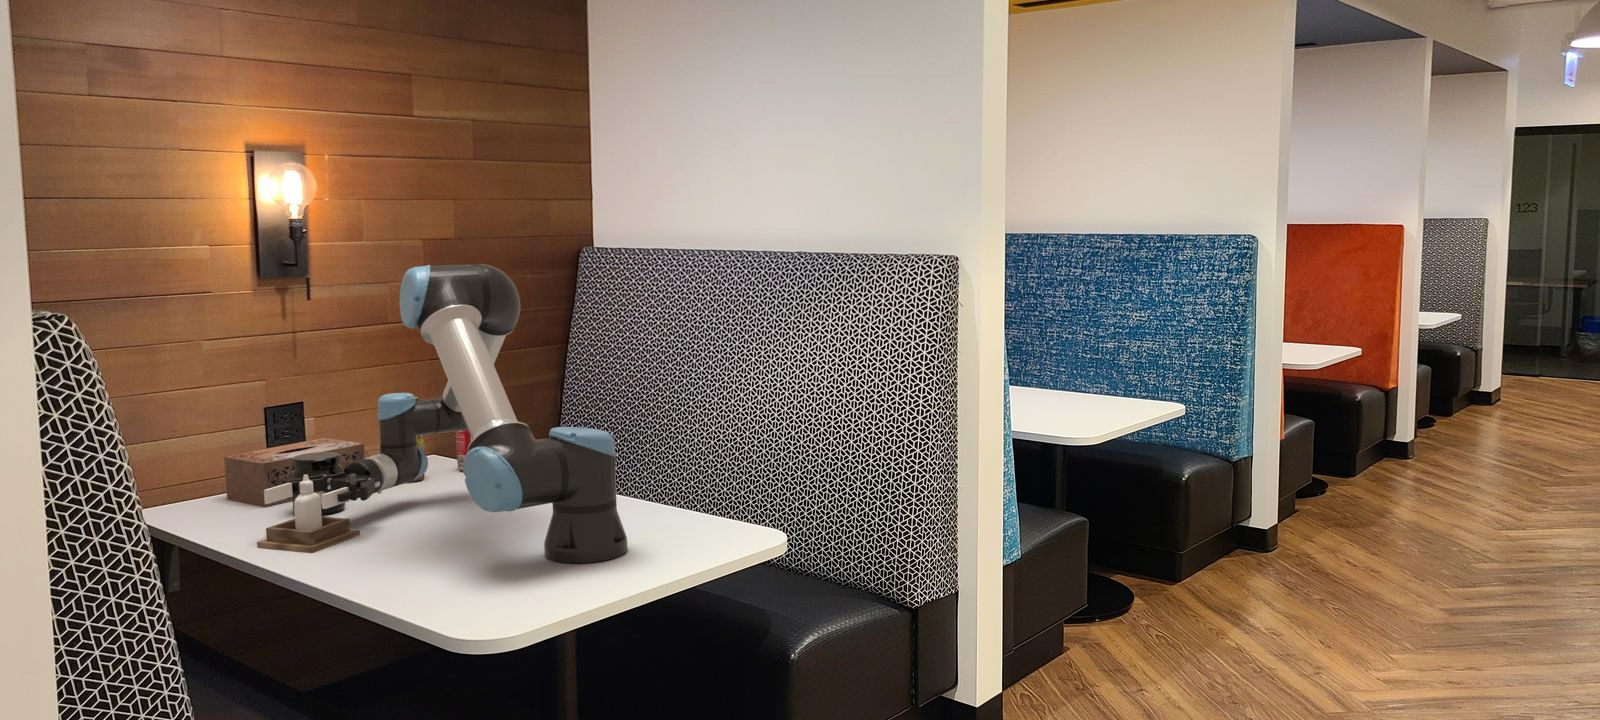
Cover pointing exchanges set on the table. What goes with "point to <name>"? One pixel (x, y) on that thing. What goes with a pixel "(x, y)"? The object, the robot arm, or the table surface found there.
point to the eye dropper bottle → (307, 507)
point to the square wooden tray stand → (308, 535)
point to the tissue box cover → (277, 467)
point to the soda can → (462, 446)
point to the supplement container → (317, 471)
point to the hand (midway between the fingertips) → (294, 499)
